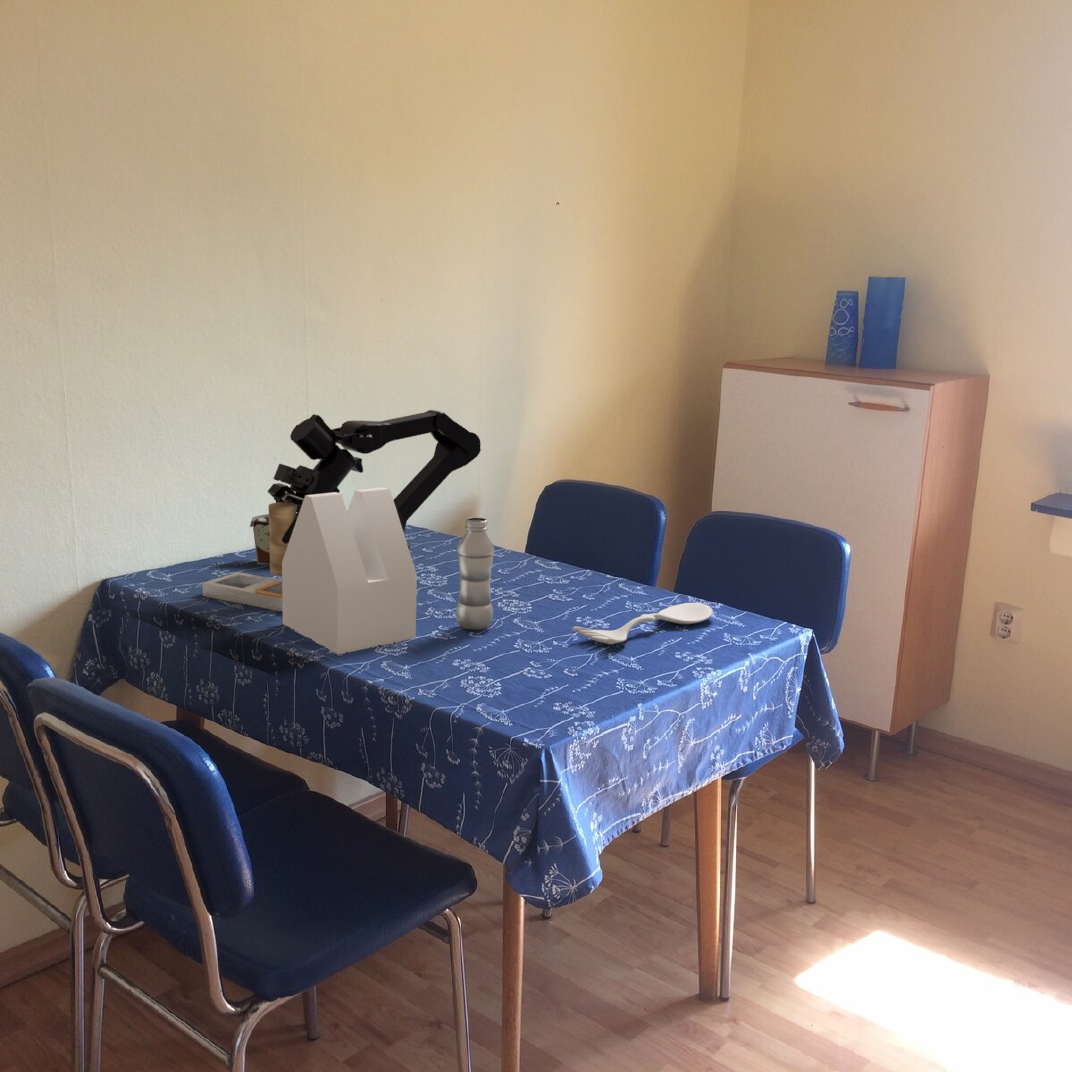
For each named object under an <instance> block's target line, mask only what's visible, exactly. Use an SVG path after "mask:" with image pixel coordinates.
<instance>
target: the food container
mask: <svg viewBox="0 0 1072 1072" xmlns="http://www.w3.org/2000/svg"><path fill="white" fill-rule="evenodd" d="M249 527H250V528H252V530H253V538H254V547H255V554H256V563H257V565H267V564H269V566H270V544H269V536H268V532H269V513H267V514H260V515H256V516H253V517H252V518H251V520H250V524H249Z"/></svg>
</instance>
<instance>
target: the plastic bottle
mask: <svg viewBox="0 0 1072 1072" xmlns="http://www.w3.org/2000/svg"><path fill="white" fill-rule="evenodd" d="M465 519H466V520H465V526H464V527H465V528H464V530H465V531H466V532H465V534H464V535H463V536H462V537H461V539H460V540H459V541H458V543H457V547H456V553H457V561H458V562H457V563H458V569H459V574H458V575H459V590H458V591H459V592H458V599H457V600H458V602H457V604H456V609H455V618H456V622H457V625H458V626H459V627H460V628H462V629H465V630H471V631H472V630H473V631H476V630H478V631H480V630H485V629H488V628H489V627H490V626H491V624H492V623H493V619H494V618H493V617H494V609H493V603H492V598H491V597H492V596H491V576H492V575H491V574H492V567H493V561H494V560H493V559H494V555H495V547H494V544H493V542H492V540H491V538H490V536H488V534H487V532H486V531H488V519H487V518H485V517H480V516H479V517H476V516H475V517H467V518H465Z"/></svg>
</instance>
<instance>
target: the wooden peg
mask: <svg viewBox="0 0 1072 1072" xmlns="http://www.w3.org/2000/svg"><path fill="white" fill-rule="evenodd" d="M267 508H268V514H269V544H270V565H269V572H270V573H269V574H270V575H272V576H274V577H282V561H283V558H284V555H285V552H286V549H287V546H288V544H289V543H287V544H285V543H283V542H282V538H283V537H284V535H285V533H286V531H287V530H288V528H289V527H290V525H291V524H292V522H293V521H294V519H295V518H296V513H297V512H296V504H294V503H288V502H278V503H276V502H272V503H269V504H268V507H267Z"/></svg>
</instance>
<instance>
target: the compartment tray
mask: <svg viewBox="0 0 1072 1072" xmlns="http://www.w3.org/2000/svg"><path fill="white" fill-rule="evenodd" d="M205 596H206V597H207V598H210V597H211V598H212V599H216V600H221V601H227V602H231V603H237V604H241V603H243V604H242V605H246V604H247V605H248V606H253V607H257V608H261V609H268V610H273V611H278V612H282V613H283V600H282V579H278V578H273V577H268V576H262V575H261V576H260V575H256V574H252V573H251V574H250V573H246V572H239V571H235V572H233V573H230V574H227V575H224V576H221V577H217V578H215V579H212V580H209V581H206V582H202V597H205Z"/></svg>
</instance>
